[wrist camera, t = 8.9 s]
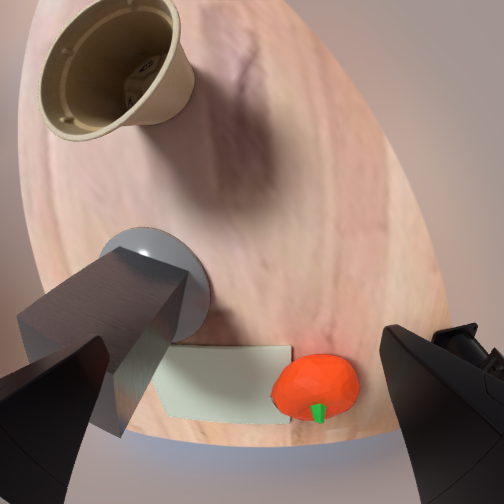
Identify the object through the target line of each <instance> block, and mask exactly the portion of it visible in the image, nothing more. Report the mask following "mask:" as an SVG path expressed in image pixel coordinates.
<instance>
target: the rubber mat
mask: <svg viewBox="0 0 504 504" xmlns="http://www.w3.org/2000/svg"><path fill="white" fill-rule="evenodd" d="M289 364H291V345H287V346H199V345H180V344H170V346H169V347H168V349H167V351H166V353H165V355H164V357H163V358H162V360H161V362H160V364H159V366H158V368H157V369H156V371H155V373H154V375H153V377H152V379H151V380H152V382H153V385H154V387H155V389H156V392H157V394H158V396H159V399H160V401H161V403H162V405H163V407H164V409H165V412H166V414H167V416H169V417H176V418H183V419H191V420H199V421H209V422H221V423H238V424H290V416H287V415H285V414H283V413H281V412H280V411H279V409H278V408H276V406H275V405H274V403H273V402H274V401H273V399H272V397H269V396H271V392H272V388H273V385H274V383H275V382H276V381H277V379H278V377H279V376H280V374H281V373H282V371H283V369H284V368H285V367H286V366H288V365H289ZM271 399H272V400H271ZM272 401H273V402H272Z"/></svg>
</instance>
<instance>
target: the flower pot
mask: <svg viewBox="0 0 504 504" xmlns="http://www.w3.org/2000/svg"><path fill="white" fill-rule="evenodd" d="M180 35H181V23H180V17H179V13H178V11H177V9H176V7H175V5H174V3H173V2H172V1H171V0H96V1H94V2H92V3H91V4H89V5H88V6H87V7H85V8H84V9H83V10H81V11H80V12H79V13H78V14H77V15H76V16H75V17H74V18H73V19H71V21H70V22H69V23H68V24H67V25H66V26H65V27H64V28H63V30H62V31H61V32H60V33H59V35H58V36H57V38H56V39H55V40H54V42H53V44H52V46H51V48H50V49H49V51H48V53H47V56H46V58H45V60H44V63H43V66H42V69H41V73H40V77H39V81H38V93H37V94H38V96H37V97H38V104H39V111H40V113H41V115H42V118H43V120H44V122H45V124H46V125H47V127H48V128H49V129H50V130H51V131H52V132H53V133H54V134H55V135H57V136H58V137H60V138H62V139H65V140H69V141H88V140H92V139H96V138H99V137H102V136H104V135H106V134H108V133H110V132H112V131H114V130H116V129H117V128H119V127H121V126H132V125H154V124H159V123H162V122H165V121H167V120H169V119H171V118H172V117H174V116H175V115H177V114H178V113H179V112H180V111H181V110H182V109H183V108H184V107H185V106H186V104H187V103H188V101H189V98H190V96H191V93H192V91H193V88H194V83H195V78H194V72H193V69H192V67H191V65H190V63H189V61H188V59H187V57H186V55H185V52H184V50H183V48H182V46H181V44H180ZM150 62H153V63H152V66H150V67H148V68H146V69H145V70H144V71H142V72H140V70H141V69H142V68H143V67H144V66H146V65H147V64H148V63H150ZM130 99H131V101H132V103H133V105H134V106H133V107H132V108H131V109H130V107H129V100H130Z"/></svg>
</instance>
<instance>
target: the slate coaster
mask: <svg viewBox="0 0 504 504" xmlns="http://www.w3.org/2000/svg"><path fill="white" fill-rule="evenodd" d="M119 246H121V247H123V248H126V249H129V250H131V251H134V252H137V253H140V254H142V255H145V256H148V257H151V258H153V259H156V260H159V261H162V262H165V263H168V264H171V265H173V266H176V267H179V268H182V269H185V270H188V271H189V274H188V278H187V283H186V287H185V292H184V297H183V302H182V306H181V311H180V316H179V322H178V327H177V332H176V335H175V337H174V338H173V340H172V342H171V343H174V342H178V341H182V340H184V339H187V338H188V337H190V336H192V335H193V334H194V333H195V332H196V331H197V330H198V329H199V328H200V327H201V326H202V324H203V322H204V320H205V318H206V316H207V313H208V310H209V306H210V287H209V282H208V279H207V276H206V273H205V271H204V269H203V267H202V265H201V263H200V262H199V260H198V258H197V257H196V256H195V254H194V253H193V252H192V251H191V250H190V249H189V248H188V247H187V246H186V245H185V244H184V243H183V242H181V241H180V240H179V239H177V238H176V237H174V236H172V235H171V234H169V233H167V232H164V231H162V230H158V229H155V228H149V227H137V228H131V229H128V230H125V231H123V232H121V233H119V234H118V235H116V236H114V237H113V238H112V239H111V240H110V241H109V242H108V243H107V244H106V245H105V247H104V248H103V250H102V252H101V254H100V257H99V258H101V257H102V256H104V255H106V254H107V253H109V252H110V251H112V250H114V249H115V248H117V247H119Z"/></svg>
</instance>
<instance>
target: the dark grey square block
mask: <svg viewBox="0 0 504 504" xmlns="http://www.w3.org/2000/svg"><path fill="white" fill-rule="evenodd" d="M188 274H189V271H188V270H185V269H182V268H179V267H176V266H173V265H171V264H168V263H165V262H162V261H159V260H156V259H153V258H151V257H148V256H145V255H142V254H140V253H137V252H134V251H131V250H129V249H126V248H123V247H121V246H119V247H117V248H115V249H114V250H112V251H110V252H109V253H107V254H106V255H104V256H102V257H101V258H99V259H98V260H96V261H94V262H93V263H91V264H90V265H88V266H87V267H85V268H84V269H82V270H81V271H79V272H77V273H76V274H74V275H73V276H71V277H70V278H68V279H67V280H66V281H64V282H63V283H61V284H60V285H58V286H57V287H55V288H54V289H52V290H51V291H50V292H48V293H47V294H45V295H44V296H43V297H41V298H40V299H38V300H37V301H36V302H34V303H33V304H32V305H30V306H29V307H27V308H26V309H25V310H24V311H22V312H21V313H20V314H18V315H17V319H18V324H19V328H20V332H21V336H22V340H23V343H24V347H25V350H26V354H27V357H28V360H29V363H30V364H31V363H33V362H35V361H37V360H39V359H41V358H43V357H45V356H47V355H49V354H51V353H53V352H55V351H57V350H59V349H61V348H63V347H66V346H68V345H70V344H72V343H74V342H76V341H78V340H80V339H82V338H84V337H86V336H88V335H90V334H94V335H100V336H101V337H102V338H103V340H104V343H105V345H106V347H107V349H108V352H109V354H110V362H109V365H108V368H107V371H106V374H105V378H104V381H103V384H102V388H101V391H100V394H99V397H98V400H97V402H96V405H95V407H94V410H93V412H92V415H91V418H90V420H89V422H90V423H92V424H94V425H95V426H97V427H99V428H101V429H103V430H105V431H107V432H109V433H111V434H113V435H115V436H117V437H119V438H121V436H122V434H123V432H124V430H125V429H126V427H127V425H128V423H129V421H130V419H131V417H132V415H133V413H134V411H135V409H136V407H137V405H138V403H139V401H140V400H141V398H142V396H143V394H144V392H145V390H146V388H147V386H148V384H149V383H150V381H151V379H152V377H153V375H154V373H155V371H156V369H157V368H158V366H159V364H160V362H161V360H162V358H163V357H164V355H165V353H166V351H167V349H168V347H169V346H170V344H171V342H172V340H173V338H174V337H175V335H176V332H177V327H178V322H179V316H180V311H181V306H182V302H183V297H184V292H185V287H186V283H187V278H188Z"/></svg>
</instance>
